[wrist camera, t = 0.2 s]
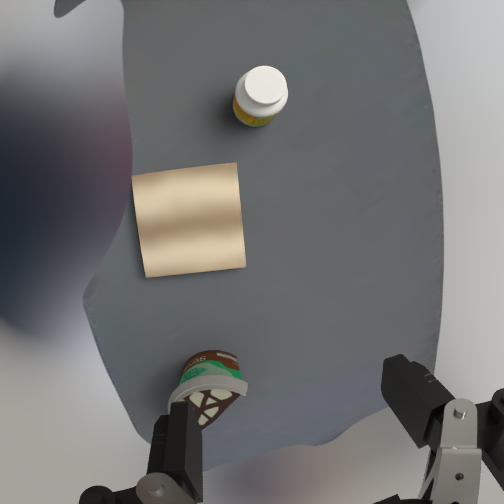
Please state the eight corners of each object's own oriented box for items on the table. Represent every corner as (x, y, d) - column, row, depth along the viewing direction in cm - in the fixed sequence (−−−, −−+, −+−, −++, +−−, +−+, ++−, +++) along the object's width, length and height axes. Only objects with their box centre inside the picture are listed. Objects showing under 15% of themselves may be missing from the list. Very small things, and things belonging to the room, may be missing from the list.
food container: (207, 325, 41) (204, 366, 32) (242, 349, 43) (249, 393, 33) (159, 381, 43) (147, 425, 33) (192, 401, 44) (188, 447, 35)
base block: (138, 176, 36) (131, 176, 33) (235, 163, 37) (236, 162, 34) (151, 270, 39) (146, 277, 36) (244, 260, 40) (246, 266, 37)
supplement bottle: (248, 135, 36) (257, 121, 27) (224, 100, 35) (225, 76, 26) (285, 113, 36) (305, 94, 27) (260, 79, 35) (273, 50, 25)
